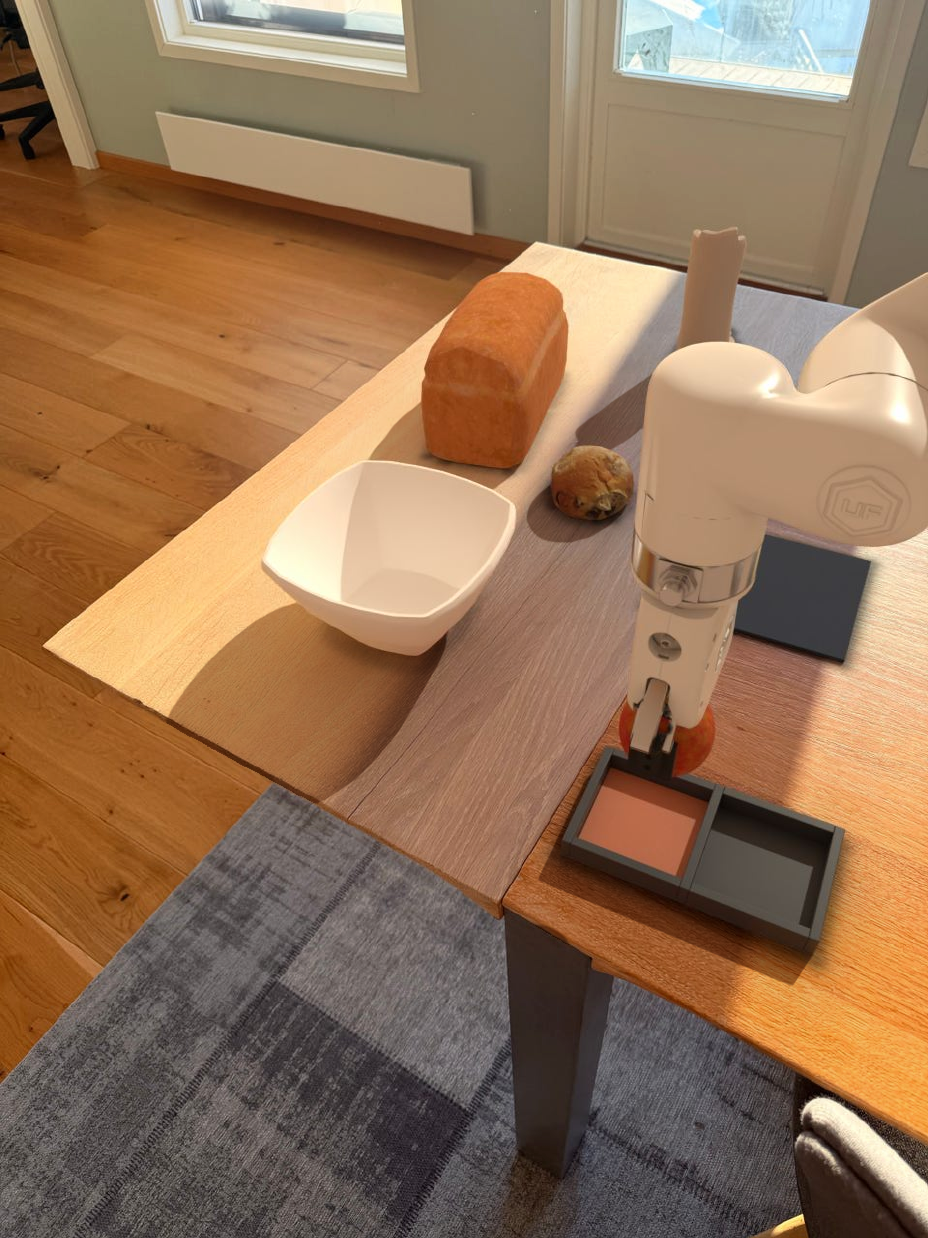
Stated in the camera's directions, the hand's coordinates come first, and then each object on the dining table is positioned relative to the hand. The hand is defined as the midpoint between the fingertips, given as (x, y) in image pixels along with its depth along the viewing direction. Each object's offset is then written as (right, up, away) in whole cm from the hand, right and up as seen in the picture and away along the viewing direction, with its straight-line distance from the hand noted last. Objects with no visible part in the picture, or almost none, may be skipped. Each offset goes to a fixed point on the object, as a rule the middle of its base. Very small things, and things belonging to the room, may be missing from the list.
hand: (666, 731), depth 67 cm
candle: (+21, +48, +66) cm, 84 cm away
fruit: (0, -2, +2) cm, 3 cm away
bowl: (-22, +8, +29) cm, 37 cm away
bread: (-10, +36, +56) cm, 68 cm away
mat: (+17, +12, +30) cm, 36 cm away
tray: (+4, -11, +8) cm, 14 cm away
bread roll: (0, +23, +42) cm, 48 cm away
